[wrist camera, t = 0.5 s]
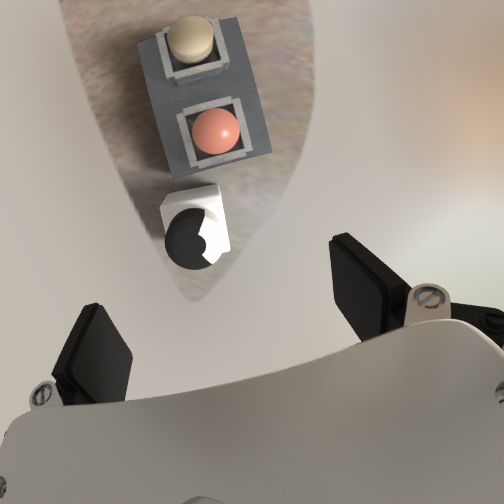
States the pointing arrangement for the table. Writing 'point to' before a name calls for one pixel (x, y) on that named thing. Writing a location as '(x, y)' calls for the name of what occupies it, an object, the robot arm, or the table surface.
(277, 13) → the table surface
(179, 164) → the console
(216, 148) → the red plunger
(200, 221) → the medicine bottle
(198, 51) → the beige ball
